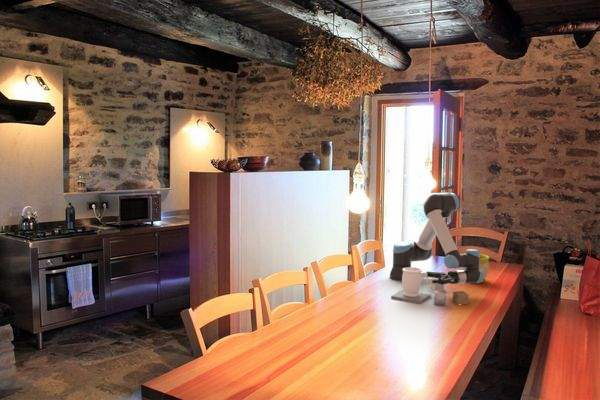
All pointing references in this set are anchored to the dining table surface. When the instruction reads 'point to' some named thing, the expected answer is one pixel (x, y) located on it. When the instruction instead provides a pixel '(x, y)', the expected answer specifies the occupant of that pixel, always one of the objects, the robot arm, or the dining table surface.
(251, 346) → the dining table surface
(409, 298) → the slate board
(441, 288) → the offwhite block
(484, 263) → the flowerpot
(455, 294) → the walnut block
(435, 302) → the metal tin
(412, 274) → the jar
